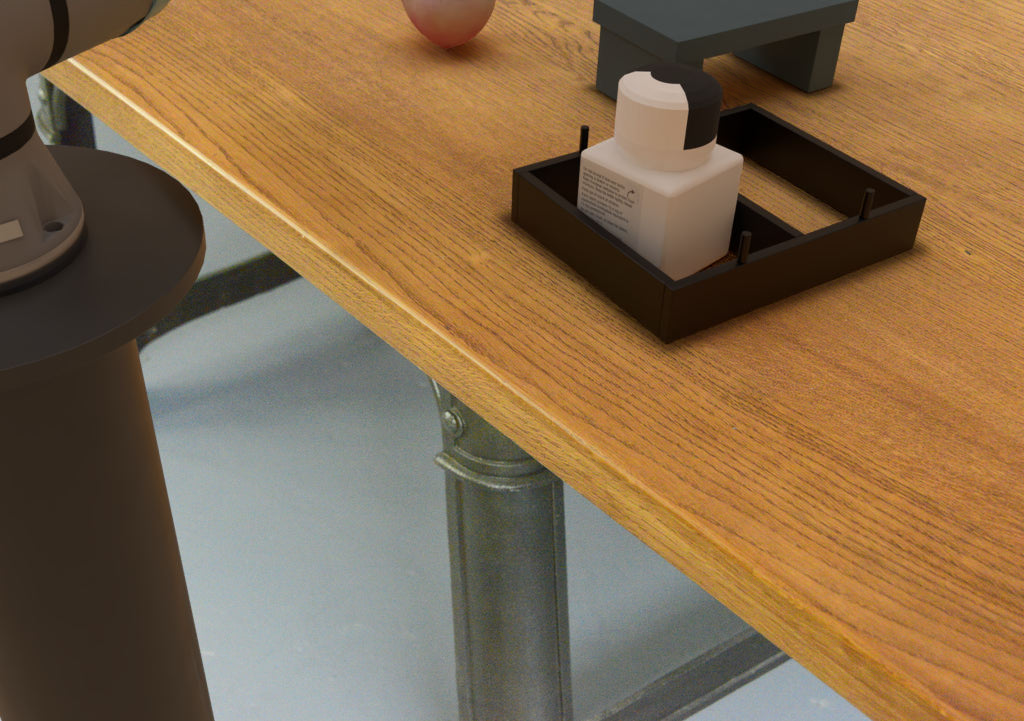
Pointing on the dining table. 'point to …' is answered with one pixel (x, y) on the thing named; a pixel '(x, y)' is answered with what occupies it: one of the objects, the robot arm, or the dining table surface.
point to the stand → (723, 36)
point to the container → (665, 170)
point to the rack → (755, 232)
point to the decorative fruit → (449, 19)
